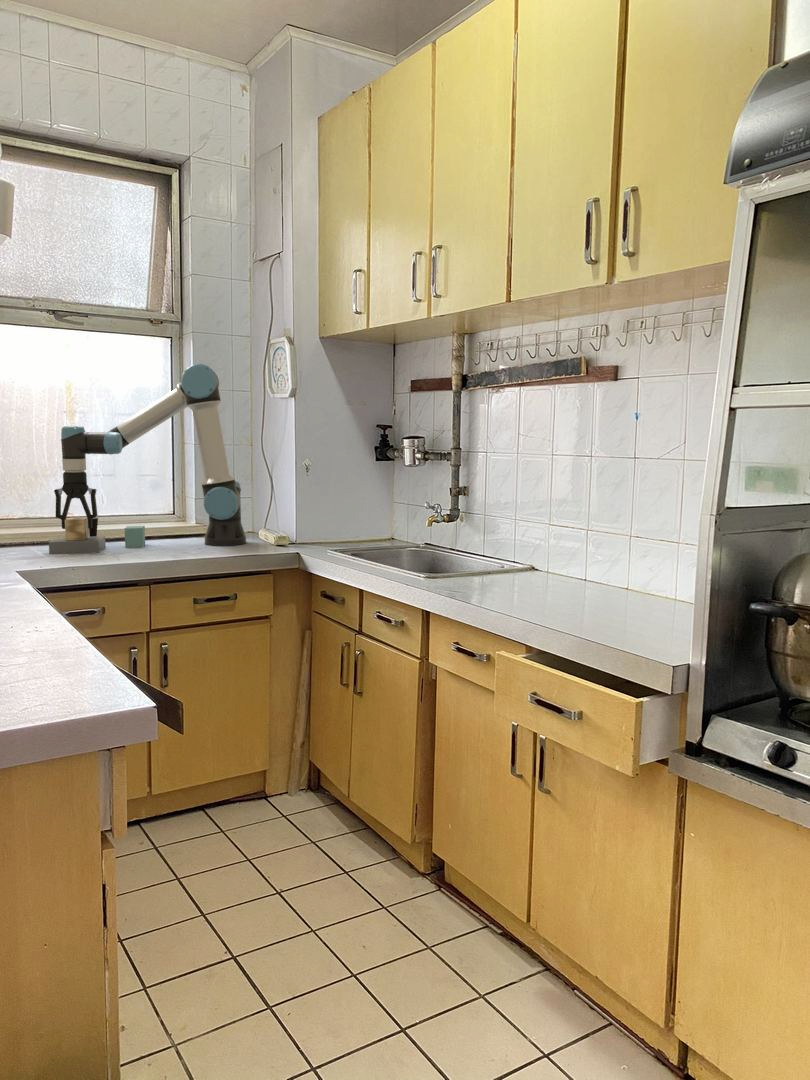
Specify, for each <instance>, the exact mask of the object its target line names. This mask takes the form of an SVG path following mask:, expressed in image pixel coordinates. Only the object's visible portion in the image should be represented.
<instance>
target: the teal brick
mask: <svg viewBox="0 0 810 1080" xmlns="http://www.w3.org/2000/svg"><path fill="white" fill-rule="evenodd" d="M145 527H146V525H127V526H126V527H125V528H124V545H125V546H124V547H125V548H126V549H127V548H133V549H134V548H135V549H137V548H144V546H145V545H146V528H145Z"/></svg>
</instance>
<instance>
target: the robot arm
mask: <svg viewBox="0 0 810 1080" xmlns="http://www.w3.org/2000/svg"><path fill="white" fill-rule="evenodd" d="M180 379H181V380H180V382H178V383H177V384H176V387H175V388H174V389H173V390H172V391H169V392H168V393H167V394H165V395H164V396H162V397H161V398H159V399H158V400H156V401H154V402H152V403H151V404H149V405H148V406H146V407H144V408H142V409H141V410H140V411H139V412H137V413H135V414H134V415H133V416H131V417H129V418H128V419H126V420H125V421H123V422H121V423H119V424H118V425H116V426H114V427H113V428H111V429H110V430H109V431H98V432H97V431H96V432H95V431H94V432H93V431H92V432H91V431H90V432H89V431H86V430H85V427H84V426H83V425H82V426H80V425H79V426H73V425H66V426H62V427H61V429H60V430H61V431H60V433H61V434H60V435H61V436H60V437H61V438H60V443H61V453H62V454H61V455H62V457H61V460H62V461H61V462H62V470H63V471H64V472H63V473H62V479H63V481H62V483H63V484H62V487H60V488H55V489H54V491H53V492H54V495H55V518H56V519H60V520H61V528H62V530H64V531H65V532H64V533H65V534H64V535H65V536H64V537H66V524H65V520H66V519H67V517H68V513H69V510H70V509H69V508H70V506H71V502H72V499H79V500H80V502H81V505H82V508H83V510H84V513H85V515H86V516H85V517H87V519H86V520H85V524H86V538H90V533H89V528H92V519H93V518H95V517H98V507H97V499H96V495H97V491H98V490H97V489H96V488H91V487H89V485H88V482H87V481H88V479H87V472H86V471H87V458H86V454H87V455H118V454H121V453H122V451H123V449H124V448H125V447H127V446H128V445H130V444H131V443H133V442H134V441H136V440H138V439H139V438H140V437H142V436H144V435H146V434H147V433H149V432H151V430H153V429H155V428H156V427H158V426H160V425H161V424H162V423H164V422H166V421H167V420H170V418H172V417H174V416H175V415H177V414H179V413H180V412H182V411H183V410H185V409H186V408H189V409H190V410H191V411H192V416H193V420H194V425H195V426H194V427H195V432H196V437H197V442H198V449H199V453H200V459H201V464H202V469H203V470H202V471H203V475H204V480H203V481H202V483H201V489H202V494H203V507H204V510H205V512H206V513H207V514H208V526H207V528H206V533H205V534H204V535H205V536H204V544H205V545H207V546H218V547H220V546H222V547H223V546H237V545H245V544H247V536H246V533H245V529H244V527H243V523H242V516H241V515H242V508H241V507H242V505H241V502H242V501H241V492H242V488H241V484H240V482H239V481H236V480H235V478H234V477H233V476H231V474H230V470H229V464H228V460H227V454H226V448H225V447H226V446H225V442H224V437H223V430H222V426H221V420H220V415H219V414H220V413H219V405H220V404H221V395H220V394H221V393H220V389H219V387H220V381H219V380H220V379H219V377H218V375H217V373H216V372H215V371H214V370H213V369H212V368H211V367H210V366H208V365H206V364H203V363H196V364H195V363H194V364H192V365H189V366H188V367H186V368H185V369H184V370H183V372H182V374H181V378H180ZM63 493H64V494H65V495H66V499H65V503H64V507H63V510H62V511H61V509H62V494H63ZM87 493H88V494H89V495H90V503H91V505H90V506H91V509H90V507H89V504H88V502H87V499H86V496H85V495H86V494H87Z"/></svg>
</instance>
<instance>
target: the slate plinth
mask: <svg viewBox="0 0 810 1080" xmlns="http://www.w3.org/2000/svg"><path fill="white" fill-rule="evenodd" d="M106 546H107V545H106V536H104V535H102V536H101V535H100V536H99V535H97V536H90V538H87V539H86V540H66V537H65V536H56V537H55V538H54V539H52V540H50V541H48V554H49V555H51V554H52V555H58V554H98V553H101V552H102V551H103V550H104V549H106Z"/></svg>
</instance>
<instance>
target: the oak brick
mask: <svg viewBox="0 0 810 1080" xmlns="http://www.w3.org/2000/svg"><path fill="white" fill-rule="evenodd" d="M86 519H87V518H76V517H69V518H66V520H65V524H66V540H86V539H87V538H86V524H85V520H86Z"/></svg>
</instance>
